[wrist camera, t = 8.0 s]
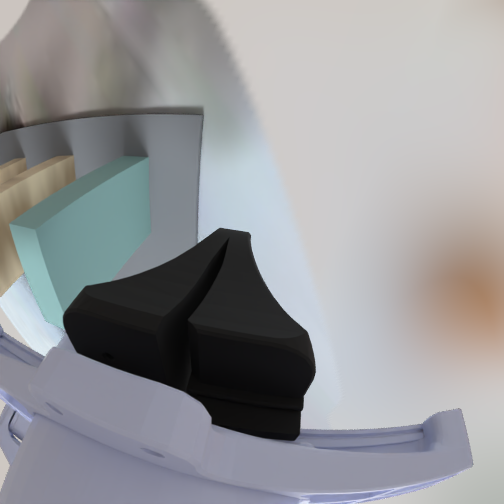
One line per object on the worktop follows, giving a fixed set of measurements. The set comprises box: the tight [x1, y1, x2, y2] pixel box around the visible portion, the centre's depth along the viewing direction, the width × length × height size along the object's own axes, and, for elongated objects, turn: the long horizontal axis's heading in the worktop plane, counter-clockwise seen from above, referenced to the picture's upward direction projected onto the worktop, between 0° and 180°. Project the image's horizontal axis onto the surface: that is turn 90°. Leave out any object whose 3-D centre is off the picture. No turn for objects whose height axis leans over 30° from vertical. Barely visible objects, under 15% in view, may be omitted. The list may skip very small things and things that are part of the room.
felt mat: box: [0, 114, 203, 281], centre depth 17 cm, size 14×31×1 cm, turn 83°
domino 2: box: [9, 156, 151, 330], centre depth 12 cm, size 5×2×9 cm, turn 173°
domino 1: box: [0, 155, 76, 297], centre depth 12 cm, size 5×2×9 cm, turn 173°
